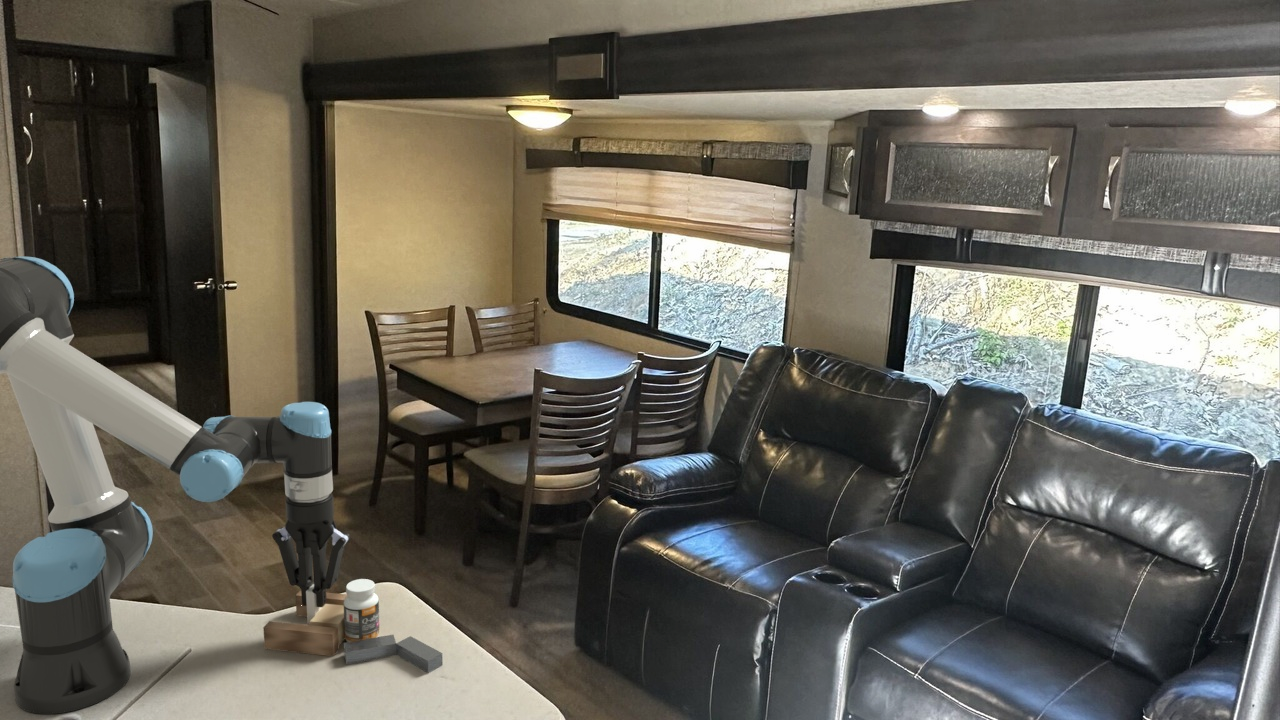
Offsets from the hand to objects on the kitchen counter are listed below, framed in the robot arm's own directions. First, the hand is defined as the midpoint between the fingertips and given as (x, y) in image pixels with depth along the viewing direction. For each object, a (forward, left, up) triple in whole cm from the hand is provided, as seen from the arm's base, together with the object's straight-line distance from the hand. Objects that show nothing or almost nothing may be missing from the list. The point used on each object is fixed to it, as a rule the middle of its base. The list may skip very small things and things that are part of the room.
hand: (315, 622), depth 157 cm
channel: (0, 0, -2) cm, 2 cm away
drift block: (+3, 0, -2) cm, 4 cm away
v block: (+16, -5, -2) cm, 17 cm away
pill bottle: (+9, 0, -2) cm, 9 cm away
